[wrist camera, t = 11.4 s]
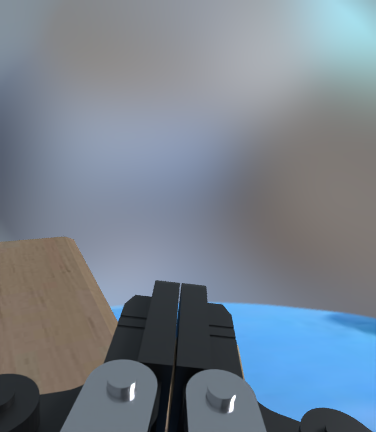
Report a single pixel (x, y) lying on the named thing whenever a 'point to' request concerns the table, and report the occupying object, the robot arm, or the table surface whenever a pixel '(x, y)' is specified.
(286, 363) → the table surface
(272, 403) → the table surface
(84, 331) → the block
